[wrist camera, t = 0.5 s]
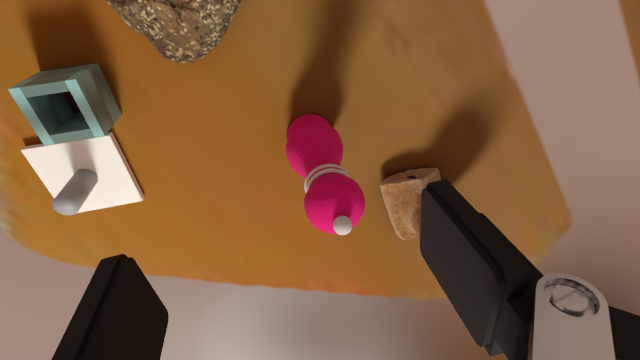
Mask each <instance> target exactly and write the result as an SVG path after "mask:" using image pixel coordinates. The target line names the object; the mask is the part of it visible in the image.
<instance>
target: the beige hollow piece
mask: <svg viewBox="0 0 640 360" xmlns="http://www.w3.org/2000/svg"><path fill="white" fill-rule="evenodd" d="M439 180H441V177H440V173H439V170H438V168H420V169H413V170H407V171H405V172H400V173H396V174H394V175H392V176H389V177H387V178H386V179H384V180H382V181H381V183H380V188H381V192H382V195H383V199H384V203H385V205H386V208H387V211H388V214H389V217H390V220H391V222H392V224H393V227H394V229H395V231H396V233H397V235H398V236H399V237H400V238H401V239H404V240H408V239H412V238H416V237H418V238H419V240H420V229H421V202H422V190H423V189H424V188H426V186H427V184H428V183H430V182H435V181H439Z"/></svg>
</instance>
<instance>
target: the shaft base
mask: <svg viewBox="0 0 640 360" xmlns="http://www.w3.org/2000/svg"><path fill="white" fill-rule="evenodd" d="M21 151H22V153H23V154H24V156H25V157H26V159H27V160H28V162H29V163H30V164H31V166H32V167H33V169H34V170H35V172H36V173H37V174H38V176H39V177H40V179H41V180H42V182H43V183H44V184H45V186H46V187H47V189H48V190H49V192H50V193H51V195H52V196H53V197H54V200H53V202H52V207H53V208H54V210H55V211H57V212H58V213H60V214H63V215H74V214H76V213H80V212H85V211H91V210H96V209H101V208H107V207H112V206H117V205H123V204H128V203H134V202H139V201H143V199H144V197H145V196H144V194H143V192H142V190H141V188H140V187H139V185H138V183H137V181H136V179H135V177H134V175H133V173H132V171H131V169H130V167H129V165H128V163H127V161H126V159H125V157H124V155H123V153H122V151H121V149H120V147H119V145H118V143H117V141H116V139H115V137H114V135H113V133H112V132H109V133H107V134H106V135H105V136H101V137H95V138H89V139H83V140H77V141H71V142H64V143H58V144H52V145H46V146H44V145H43V143H42V144H36V145H30V146H25V147H24V148H23V149H22V150H21Z"/></svg>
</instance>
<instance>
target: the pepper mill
mask: <svg viewBox="0 0 640 360" xmlns="http://www.w3.org/2000/svg"><path fill="white" fill-rule="evenodd" d="M286 154H287V158H288V160H289V162H290V165H291V166H292V168H293V169H294V170H295V171H296V172H297V173H298V174H299V175H301V176H302V177H304V178H306V180H305V185H304V189H305V192H306V196H305V199H304V206H305V212H306V215H307V217H308V219H309V220H310V222H311V223H312V224H313V225H314V226H315V227H316V228H318V229H319V230H321V231H323V232H327V233H338V234H339V235H346V234H348V233H349V232H350V231H351V229H352V227H354V226H355V225H356V224H357V223H358V222H359V220H360V219H361V217H362V215H363V212H364V208H365V199H364V195H363V192H362V190H361V188H360V186H359V185H358V184H357V183H356V182H355V181H354V180H353V179H351V178H350V177H349V174H348V173H347V171H346V170H345V169H344V168H343V167H341V166H340V164H341V161H342V157H343V145H342V141H341V138H340V136H339V134H338V133H337V131H336V130H335V129H334V128H333V127H332V126H330V125H329V123H328V122H327V121H326V119H324V118H323V117H321V116H319V115H316V114H305V115H302V116H300V117H298V118H296V119H295V120H294V121H293V122H292V123H291V124H290V126H289V128H288V131H287V145H286Z"/></svg>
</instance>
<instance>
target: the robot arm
mask: <svg viewBox="0 0 640 360" xmlns="http://www.w3.org/2000/svg"><path fill="white" fill-rule="evenodd" d="M420 251H421V254H422V256H423V258H424V260H425V261H426V263H427V264H428V266H429V268H430V269H431V271H432V273H433V274H434V276H435V277H436V279H437V281H438V282H439V284H440V285H441V287H442V289H443V290H444V292H445V294H446V295H447V297H448V298H449V300H450V301H451V303H452V305H453V306H454V308H455V310H456V311H457V313H458V315H459V316H460V318H461V319H462V321H463V323H464V324H465V326H466V328H467V329H468V331H469V332H470V334H471V336H472V337H473V339H474V340H475V342H476V343H477V344H478V345H479V346H480V347H482V346H484V347H485V348H486V350H487V352H488V353H489V355H490V356H494V355H497V354H501V353H504V354H505V355H506V357H507V358H508V359H509V360H640V316H638V315H635V314H632V313H629V312H626V311H623V310H620V309H617V308H613V307H611V306H608V305H607V303H606V300H605V298H604V297H603V295H602V294H601V293H600V292H599V291H598V290H597V289H596V288H595V287H594V286H592V285H591V284H589V283H587V282H586V281H584V280H582V279H580V278H577V277H575V276H572V275H568V274H561V273H554V274H548V275H545V276H543V275H542V274H541V273H540V272H539V271H538V270H537V268H536V267H535V266H534V265H533V264H532V263H531V262H530V261H529V260H528V259H527V258H526V257H525V256H524V255H523V254H522V253H521V252H520V251H519V250H518V249H517V248H516V247H515V246H514V245H513V244H512V243H511V242H510V241H509V240H508V239H507V238H506V237H505V236H504V235H503V233H502V232H501V231H500V230H499V229H498V228H497V227H496V226H495V225H494V224H493V223H492V222H491V221H490V220H489V219H488V218H487V217H486V216H485V215H483V214H482V213H479V212H477V211H476V210H475V209H474V208H473V207H472V206H471V205H470V204H469V203H468V201H467V200H466V199H465V198H464V197H463V196H462V195H461V194H460V193H459V192H458V191H457V190H456V189H455V188H454V187H453V186H452V185H451V184H450V183H449V182H448V181H447V180H445V179H443V180H439V181H435V182H430V183H428V184H427V186H426V188H424V189H423V190H422V202H421V229H420ZM167 324H168V312H167V309H166V308H165V306H164V305H163V303H162V302H161V300H160V299H159V297H158V295H157V294H156V292H155V291H154V289H153V288H152V286H151V285H150V283H149V282H148V280H147V279H146V277H145V275H144V274H143V272H142V271H141V269H140V268H139V266H138V265H137V263H136V262H135V260H134V259H133V258H131V257H129V258H128V257H127V256H126V255H124V254H121V255H117V256H113V257H108V258H104V259H102V260H101V261H100V263H99V264H98V266H97V269H96V271H95V273H94V275H93V277H92V279H91V281H90V283H89V285H88V287H87V289H86V291H85V293H84V295H83V297H82V299H81V301H80V303H79V305H78V307H77V309H76V311H75V313H74V315H73V317H72V319H71V321H70V323H69V325H68V328H67V329H66V332H65V333H64V335H63V337H62V339H61V342H60V344H59V346H58V348H57V350H56V352H55V354H54V356H53V358H52V360H160V357H161V352H162V347H163V343H164V337H165V334H166V328H167Z"/></svg>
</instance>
